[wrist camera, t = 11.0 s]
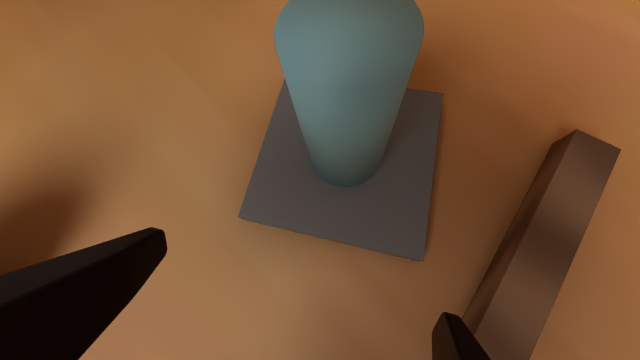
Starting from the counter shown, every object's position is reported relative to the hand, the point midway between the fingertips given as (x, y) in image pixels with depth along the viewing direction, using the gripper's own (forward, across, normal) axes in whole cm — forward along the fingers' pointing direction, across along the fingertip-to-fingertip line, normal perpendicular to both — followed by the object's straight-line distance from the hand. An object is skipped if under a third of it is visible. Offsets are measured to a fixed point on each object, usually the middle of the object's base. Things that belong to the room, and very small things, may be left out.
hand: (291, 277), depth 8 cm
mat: (+12, 0, 0) cm, 12 cm away
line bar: (+10, -12, +3) cm, 16 cm away
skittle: (+12, 0, 0) cm, 12 cm away
